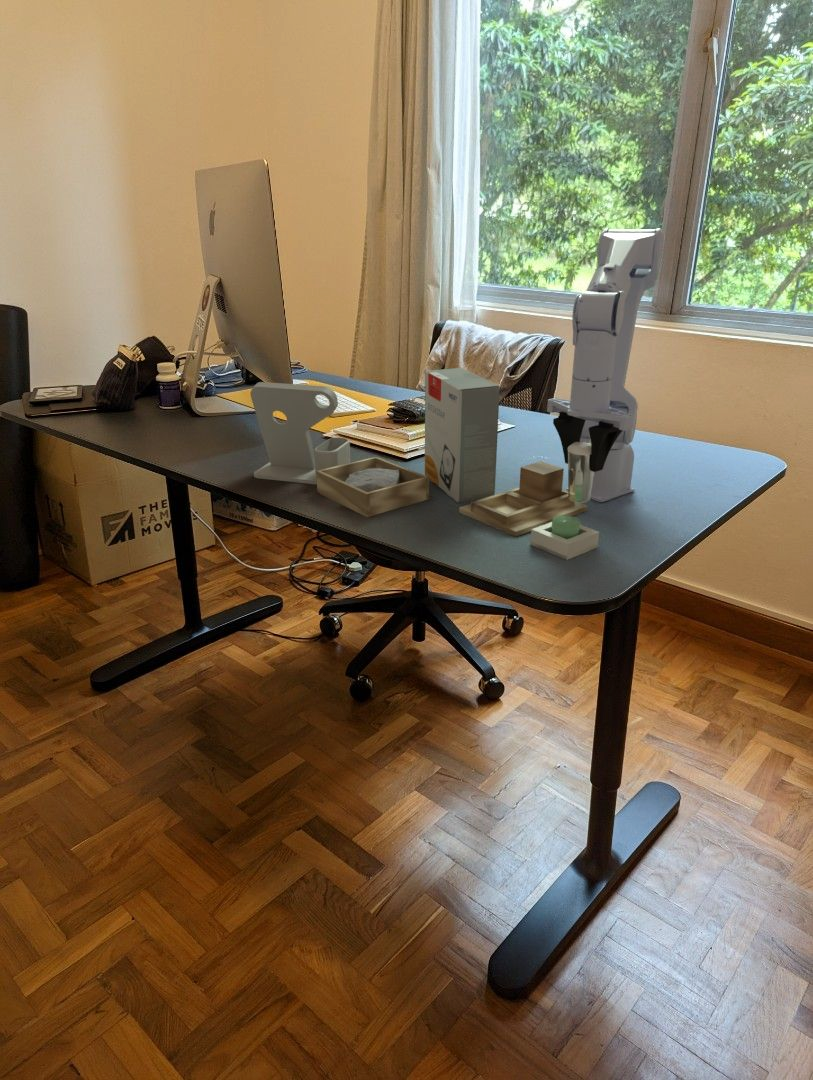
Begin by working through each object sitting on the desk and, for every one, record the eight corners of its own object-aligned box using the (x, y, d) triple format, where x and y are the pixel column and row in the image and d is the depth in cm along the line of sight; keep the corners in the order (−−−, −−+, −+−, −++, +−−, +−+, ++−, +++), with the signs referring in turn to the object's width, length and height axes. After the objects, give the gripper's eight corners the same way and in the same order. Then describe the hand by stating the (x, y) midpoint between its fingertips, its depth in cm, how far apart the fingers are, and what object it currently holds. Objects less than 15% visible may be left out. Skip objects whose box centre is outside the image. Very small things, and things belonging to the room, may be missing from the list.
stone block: (344, 517, 126) (401, 505, 125) (337, 490, 125) (395, 478, 124) (351, 496, 138) (404, 485, 136) (345, 471, 136) (398, 460, 135)
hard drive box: (423, 476, 141) (423, 370, 133) (459, 471, 143) (462, 367, 135) (456, 503, 128) (459, 387, 120) (496, 497, 130) (502, 384, 122)
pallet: (529, 490, 134) (530, 477, 133) (586, 510, 124) (588, 497, 123) (458, 512, 124) (459, 498, 123) (515, 536, 115) (516, 522, 114)
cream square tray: (561, 532, 116) (562, 518, 115) (597, 547, 111) (599, 531, 110) (530, 544, 112) (531, 529, 111) (566, 560, 107) (568, 544, 106)
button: (563, 528, 113) (564, 513, 112) (584, 536, 110) (585, 521, 109) (545, 535, 111) (546, 519, 110) (566, 543, 108) (567, 528, 107)
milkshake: (601, 497, 117) (606, 434, 113) (586, 506, 113) (591, 442, 109) (574, 491, 120) (579, 430, 116) (559, 500, 116) (563, 437, 112)
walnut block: (538, 494, 129) (541, 461, 127) (560, 502, 126) (563, 468, 123) (518, 500, 126) (520, 467, 124) (540, 509, 123) (543, 474, 120)
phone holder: (356, 470, 145) (353, 377, 137) (336, 487, 136) (331, 388, 128) (275, 462, 149) (268, 371, 142) (250, 477, 141) (241, 382, 133)
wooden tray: (376, 477, 141) (376, 456, 139) (428, 499, 130) (429, 477, 128) (317, 492, 133) (316, 470, 131) (367, 517, 122) (366, 494, 121)
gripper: (536, 373, 112) (530, 460, 117) (616, 389, 102) (605, 483, 107) (567, 367, 116) (560, 451, 121) (646, 382, 106) (635, 473, 111)
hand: (583, 466), depth 114 cm, fingers closed on milkshake, 4 cm apart
